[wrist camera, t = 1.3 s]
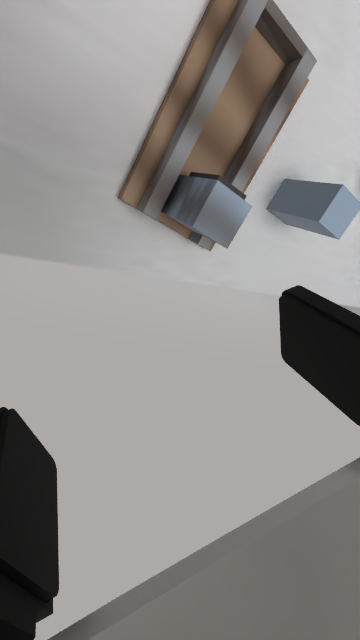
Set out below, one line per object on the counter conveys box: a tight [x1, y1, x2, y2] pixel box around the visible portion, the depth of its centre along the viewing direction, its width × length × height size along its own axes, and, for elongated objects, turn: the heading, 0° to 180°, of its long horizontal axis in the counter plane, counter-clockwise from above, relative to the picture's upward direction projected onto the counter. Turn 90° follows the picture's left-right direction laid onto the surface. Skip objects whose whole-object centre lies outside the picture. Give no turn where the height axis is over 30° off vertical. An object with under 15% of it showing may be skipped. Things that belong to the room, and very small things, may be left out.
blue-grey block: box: [267, 179, 360, 239], centre depth 35 cm, size 5×4×9 cm
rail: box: [119, 0, 317, 251], centre depth 27 cm, size 20×12×10 cm, turn 148°
